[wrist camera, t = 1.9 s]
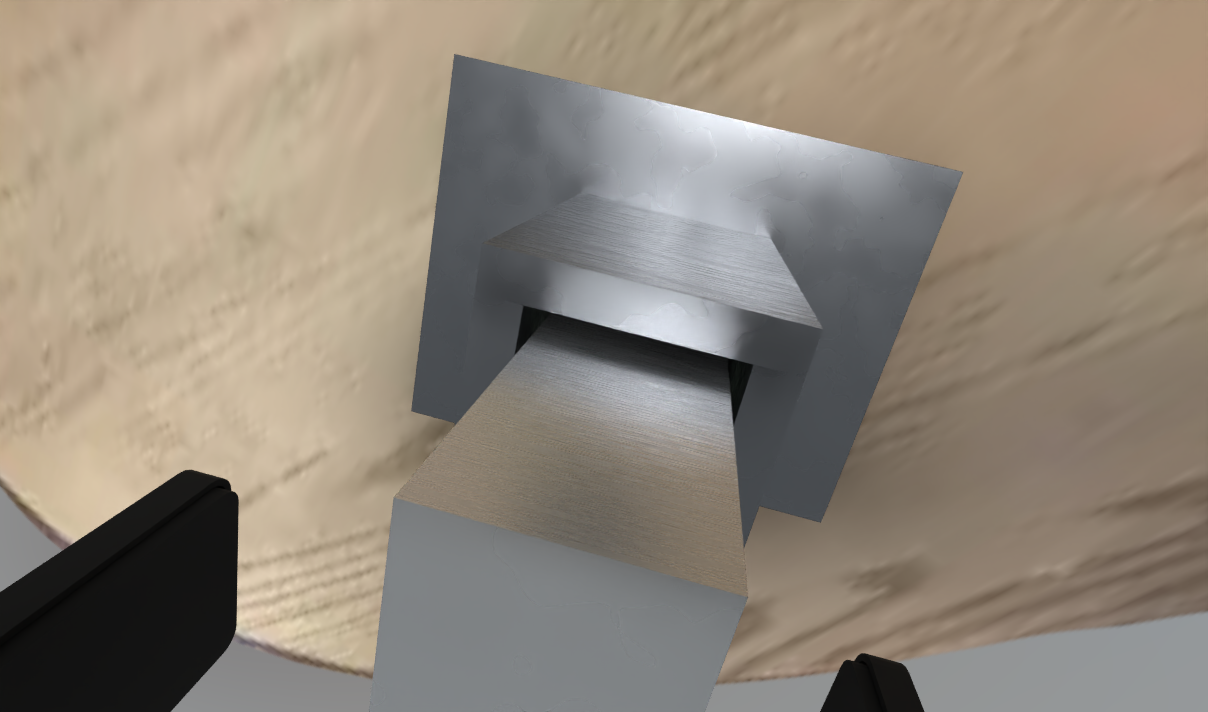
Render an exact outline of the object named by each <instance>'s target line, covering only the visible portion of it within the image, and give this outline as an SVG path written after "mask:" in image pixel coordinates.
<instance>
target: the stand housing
mask: <svg viewBox="0 0 1208 712" xmlns="http://www.w3.org/2000/svg"><path fill="white" fill-rule="evenodd" d="M962 174H963V172H961V171H957V170H952V169H948V168H944V167H939V166H935V165H931V164H926V163H922V162H918V161H913V160H909V159H905V158H901V157H896V156H892V155H888V154H883V153H879V152H875V151H870V150H866V149H862V148H857V147H853V146H849V145H844V144H840V143H836V142H832V141H827V140H823V139H819V138H814V137H810V136H806V135H801V134H797V133H793V132H788V131H784V130H780V129H775V128H771V127H767V126H762V125H758V124H754V123H750V122H745V121H741V120H737V119H732V118H728V117H724V116H719V115H715V114H711V113H706V112H702V111H698V110H693V109H689V108H685V107H681V106H676V105H672V104H668V103H663V102H659V101H655V100H650V99H646V98H642V97H637V96H633V95H629V94H624V93H620V92H616V91H611V90H607V89H603V88H599V87H594V86H590V85H586V84H581V83H577V82H573V81H568V80H564V79H560V78H555V77H551V76H547V75H542V74H538V73H534V72H530V71H525V70H521V69H517V68H512V67H508V66H504V65H499V64H495V63H491V62H486V61H482V60H478V59H473V58H469V57H465V56H461V55H456V54H454V62H453V70H452V78H451V87H450V95H449V103H448V112H447V120H446V128H445V137H444V145H443V153H442V161H441V170H440V178H439V186H438V195H437V203H436V211H435V220H434V228H433V236H432V244H431V253H430V261H429V269H428V278H427V286H426V294H425V302H424V311H423V319H422V327H421V336H420V344H419V352H418V361H417V369H416V377H415V385H414V394H413V402H412V410H411V411H413V412H416V413H420V414H424V415H427V416H431V417H435V418H438V419H442V420H446V421H449V422H453V423H455V425H456V424H457V423H458V422H459V420H460V419H461V418H462V417H463V416H464V415H465V413H466V412H467V411H468V410H469V409H470V407H471V406H472V405H473V404H474V403H475V402H476V400H477V399H478V398H479V397H480V396H481V395H482V393H483V392H484V391H485V390H486V389H487V388H488V386H489V385H490V384H491V383H492V382H493V380H494V379H495V378H496V377H497V376H498V375H499V373H500V372H501V371H502V370H503V369H504V368H505V366H506V365H507V364H508V363H509V362H510V361H511V359H512V358H513V357H514V356H515V355H516V354H517V352H518V351H519V350H520V349H521V348H522V346H523V345H524V344H525V343H526V342H527V341H528V339H529V338H530V337H531V336H532V335H533V334H534V332H535V331H536V330H537V329H538V328H539V327H540V325H541V324H542V323H543V322H544V321H545V319H546V318H547V317H548V316H549V315H550V314H551V313H555V314H559V315H563V316H567V317H571V318H575V319H578V320H582V321H586V322H590V323H594V324H598V325H602V326H606V327H610V328H613V329H617V330H621V331H625V332H629V333H633V334H637V335H641V336H645V337H648V338H652V339H656V340H660V341H664V342H668V343H672V344H676V345H680V346H683V347H687V348H691V349H695V350H699V351H703V352H707V353H711V354H714V355H718V356H722V357H726V358H727V361H728V373H729V384H730V396H731V408H732V419H733V431H734V442H735V454H736V465H737V477H738V489H739V500H740V512H741V523H742V535H743V546H744V547H745V544H746V541H747V539H748V536H749V533H750V530H751V528H752V525H753V522H754V519H755V516H756V514H757V511H758V508H759V506H762V507H765V508H769V509H773V510H776V511H780V512H784V513H787V514H791V515H795V516H798V517H802V518H806V519H809V520H813V521H817V522H820V523H821V521H822V518H823V516H824V513H825V511H826V508H827V506H828V504H829V501H830V499H831V496H832V494H833V491H834V489H835V486H836V484H837V481H838V479H839V476H840V474H841V472H842V469H843V467H844V464H845V462H846V459H847V457H848V454H849V452H850V449H851V447H852V444H853V442H854V440H855V437H856V435H857V432H858V430H859V427H860V425H861V422H862V420H863V417H864V415H865V413H866V410H867V408H868V405H869V403H870V400H871V398H872V395H873V393H874V390H875V388H876V385H877V383H878V381H879V378H880V376H881V373H882V371H883V368H884V366H885V363H886V361H887V358H888V356H889V353H890V351H891V349H892V346H893V344H894V341H895V339H896V336H897V334H898V331H899V329H900V326H901V324H902V321H903V319H904V317H905V314H906V312H907V309H908V307H909V304H910V302H911V299H912V297H913V294H914V292H915V290H916V287H917V285H918V282H919V280H920V277H921V275H922V272H923V270H924V267H925V265H926V262H927V260H928V258H929V255H930V253H931V250H932V248H933V245H934V243H935V240H936V238H937V235H938V233H939V230H940V228H941V226H942V223H943V221H944V218H945V216H946V213H947V211H948V208H949V206H950V203H951V201H952V198H953V196H954V194H955V191H956V189H957V186H958V184H959V181H960V179H961V176H962Z"/></svg>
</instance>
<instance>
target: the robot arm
mask: <svg viewBox="0 0 1208 712" xmlns="http://www.w3.org/2000/svg"><path fill="white" fill-rule="evenodd" d="M238 504H239V501H238V495H237V494H236V493H235V492H233V491H231V485H230V483H229V481H228V480H226V479H223V478H220V477H216V476H212V475H209V474H205V473H201V472H198V471H194V470H185V471H183V472H181V473H179V474H177V475H176V476H174V477H173V478H171V479H170V480H168V481H167V482H165V483H164V484H162V485H161V486H159V487H158V488H156V489H155V490H153V491H152V492H150V493H149V494H147V495H146V496H144V497H143V498H141V499H140V500H138V501H137V502H135V503H134V504H132V505H131V506H129V507H128V508H126V509H125V510H123V511H122V512H120V513H119V514H117V515H116V516H114V517H113V518H111V519H110V520H108V521H107V522H105V523H104V524H102V525H101V526H99V527H98V528H96V529H94V530H93V531H91V532H90V533H88V534H87V535H85V536H84V537H82V538H81V539H79V540H78V541H76V542H75V543H73V544H72V545H70V546H69V547H67V548H66V549H64V550H63V551H61V552H60V553H59V554H57V555H55V556H54V557H52V558H51V559H49V560H48V561H46V562H45V563H43V564H42V565H40V566H39V567H37V568H36V569H34V570H33V571H31V572H30V573H28V574H27V575H25V576H24V577H22V578H21V579H19V580H18V581H16V582H15V583H13V584H12V585H10V586H9V587H7V588H6V589H4V590H3V591H1V592H0V712H171V711H172V710H173V708H174V707H175V706H176V705H177V704H178V703H179V702H180V701H181V699H182V698H183V697H184V696H185V695H186V694H187V693H188V692H189V691H190V690H191V688H192V687H193V686H194V685H195V684H196V682H198V681H199V680H200V678H201V677H202V676H203V675H204V674H205V673H206V672H207V671H208V669H210V667H211V666H212V665H213V664H214V663H215V662H216V661H217V660H218V659H219V657H220V656H221V655H222V654H223V653H224V652H225V650H226V649H227V648H228V646H229V645H230V643H231V641H232V639H233V637H234V634H235V631H236V621H237V563H238ZM820 712H924V710H923V707H922V705H921V702H920V699H919V697H918V694H917V692H916V689H915V687H914V685H913V682H912V679H911V677H910V674H909V672H908V670H907V668H906V667H905V666H904V665H903V664H901V663H898V662H894V661H891V660H887V659H883V658H880V657H876V656H872V655H869V654H865V653H861V654H860V655H858V656H857V658H856V659H855V661H851V660H846V661H844V662H843V664H842V666H841V668H840V670H839V672H838V674H837V676H836V679H835V681H834V683H833V685H832V687H831V689H830V692H829V694H828V696H827V698H826V700H825V702H824V705H823V707H822V709H821V711H820Z"/></svg>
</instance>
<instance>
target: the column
mask: <svg viewBox="0 0 1208 712" xmlns="http://www.w3.org/2000/svg"><path fill="white" fill-rule="evenodd" d="M747 598H748V593H747V581H746V570H745V558H744V546H743V535H742V523H741V512H740V500H739V489H738V477H737V465H736V454H735V442H734V431H733V419H732V408H731V396H730V384H729V373H728V361H727V358H726V357H722V356H718V355H714V354H711V353H707V352H703V351H699V350H695V349H691V348H687V347H683V346H680V345H676V344H672V343H668V342H664V341H660V340H656V339H652V338H648V337H645V336H641V335H637V334H633V333H629V332H625V331H621V330H617V329H613V328H610V327H606V326H602V325H598V324H594V323H590V322H586V321H582V320H578V319H575V318H571V317H567V316H563V315H559V314H555V313H551V314H550V315H549V316H548V317H547V318H546V319H545V321H544V322H543V323H542V324H541V325H540V327H539V328H538V329H537V330H536V331H535V332H534V334H533V335H532V336H531V337H530V338H529V339H528V341H527V342H526V343H525V344H524V345H523V346H522V348H521V349H520V350H519V351H518V352H517V354H516V355H515V356H514V357H513V358H512V359H511V361H510V362H509V363H508V364H507V365H506V366H505V368H504V369H503V370H502V371H501V372H500V373H499V375H498V376H497V377H496V378H495V379H494V380H493V382H492V383H491V384H490V385H489V386H488V388H487V389H486V390H485V391H484V392H483V393H482V395H481V396H480V397H479V398H478V399H477V400H476V402H475V403H474V404H473V405H472V406H471V407H470V409H469V410H468V411H467V412H466V413H465V415H464V416H463V417H462V418H461V419H460V420H459V422H458V423H457V424H456V425H455V426H454V427H453V429H452V430H451V431H450V432H449V433H448V434H447V436H446V437H445V438H444V439H443V440H442V442H441V443H440V444H439V445H438V446H437V447H436V449H435V450H434V451H433V452H432V453H431V454H430V456H429V457H428V458H427V459H426V460H425V461H424V463H423V464H422V465H421V466H420V467H419V468H418V470H417V471H416V472H415V473H414V474H413V476H412V477H411V478H410V479H409V480H408V481H407V483H406V484H405V485H404V486H403V487H402V488H401V490H400V491H399V492H398V493H397V494H396V495H395V497H394V500H393V509H392V517H391V526H390V535H389V543H388V552H387V561H386V569H385V578H384V586H383V595H382V604H381V612H380V621H379V630H378V638H377V647H376V656H375V664H374V673H373V681H372V690H371V699H370V708H369V712H705V710H706V707H707V705H708V702H709V699H710V697H711V694H712V691H713V689H714V686H715V684H716V681H717V678H718V676H719V673H720V670H721V668H722V665H723V662H724V660H725V657H726V654H727V652H728V649H729V646H730V644H731V641H732V638H733V636H734V633H735V630H736V628H737V625H738V622H739V620H740V617H741V614H742V612H743V609H744V606H745V604H746V601H747Z"/></svg>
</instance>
